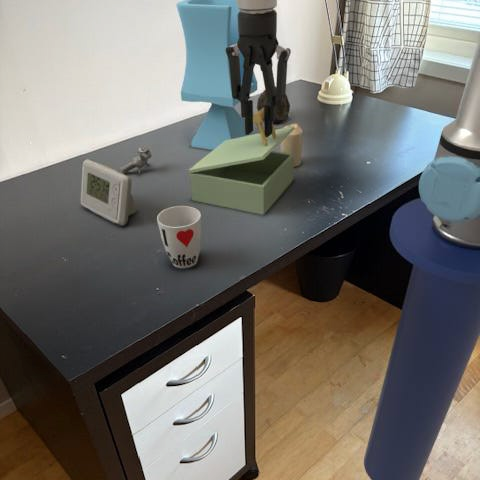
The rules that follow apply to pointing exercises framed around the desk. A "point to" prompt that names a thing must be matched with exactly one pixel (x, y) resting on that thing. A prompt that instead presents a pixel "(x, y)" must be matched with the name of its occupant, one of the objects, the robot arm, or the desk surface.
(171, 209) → the cup
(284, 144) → the candle
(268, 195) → the chest
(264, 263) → the desk surface
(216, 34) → the planter
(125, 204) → the digital clock
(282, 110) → the rock
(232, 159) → the lid
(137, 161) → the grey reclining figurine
